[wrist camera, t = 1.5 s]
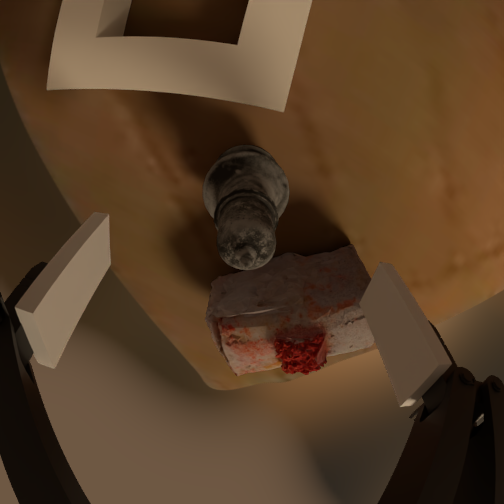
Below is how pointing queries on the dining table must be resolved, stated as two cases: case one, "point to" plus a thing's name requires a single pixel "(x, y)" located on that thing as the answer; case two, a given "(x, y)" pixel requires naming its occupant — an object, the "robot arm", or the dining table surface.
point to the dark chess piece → (246, 204)
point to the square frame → (179, 54)
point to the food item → (290, 312)
